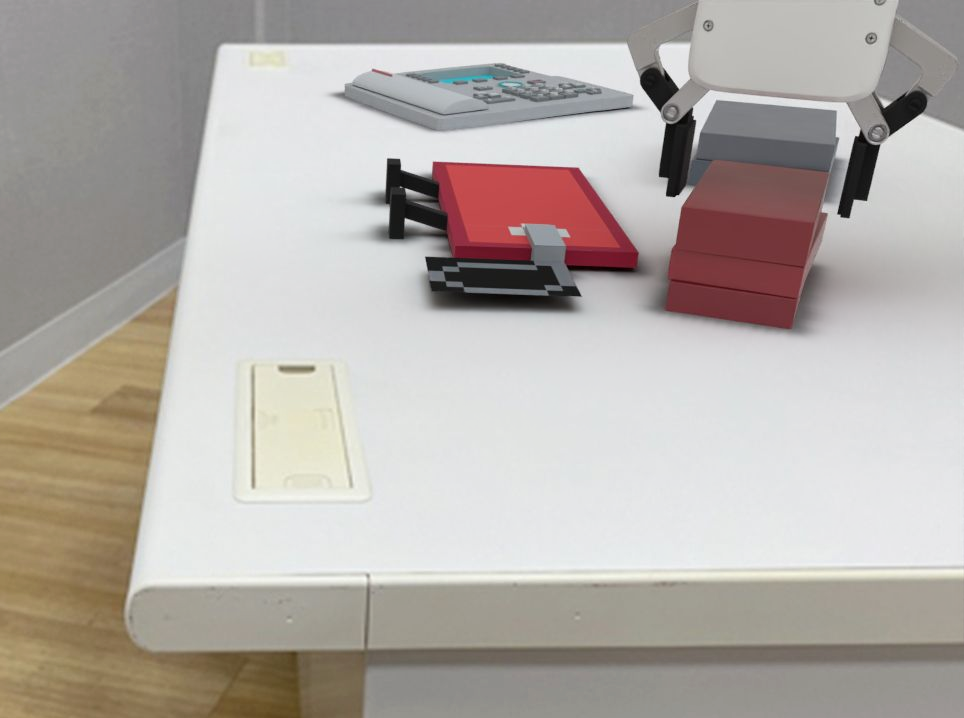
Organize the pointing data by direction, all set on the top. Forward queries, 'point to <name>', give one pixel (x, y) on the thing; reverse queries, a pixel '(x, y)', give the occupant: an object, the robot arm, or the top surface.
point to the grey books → (766, 137)
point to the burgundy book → (753, 212)
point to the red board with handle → (509, 226)
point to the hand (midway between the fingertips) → (758, 201)
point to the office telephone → (480, 95)
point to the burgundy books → (738, 286)
